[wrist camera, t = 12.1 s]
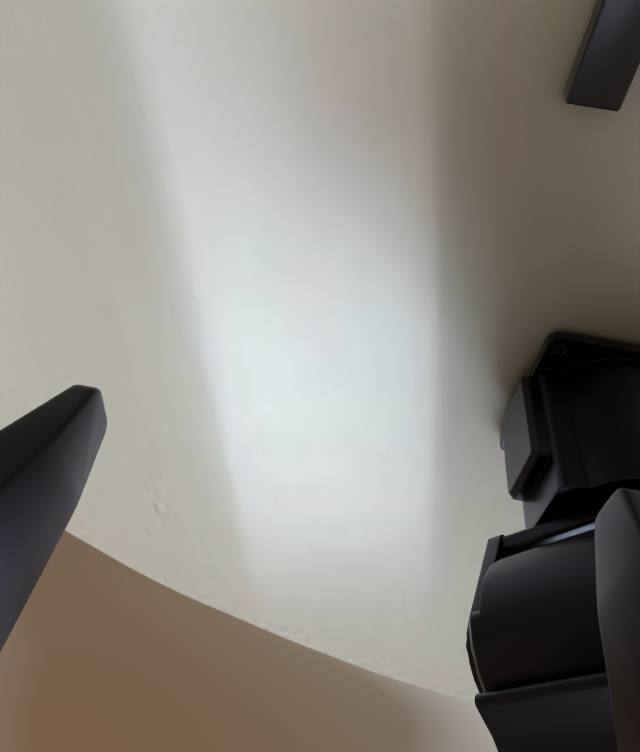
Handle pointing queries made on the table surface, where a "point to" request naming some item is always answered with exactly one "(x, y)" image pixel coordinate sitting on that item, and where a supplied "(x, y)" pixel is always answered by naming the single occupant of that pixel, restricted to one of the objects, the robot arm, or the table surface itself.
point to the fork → (607, 56)
